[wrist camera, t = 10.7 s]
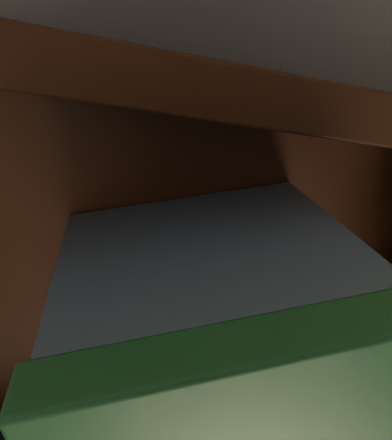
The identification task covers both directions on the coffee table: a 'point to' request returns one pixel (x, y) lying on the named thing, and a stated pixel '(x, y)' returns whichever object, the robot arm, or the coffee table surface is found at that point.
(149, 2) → the coffee table surface
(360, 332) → the container
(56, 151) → the tray
